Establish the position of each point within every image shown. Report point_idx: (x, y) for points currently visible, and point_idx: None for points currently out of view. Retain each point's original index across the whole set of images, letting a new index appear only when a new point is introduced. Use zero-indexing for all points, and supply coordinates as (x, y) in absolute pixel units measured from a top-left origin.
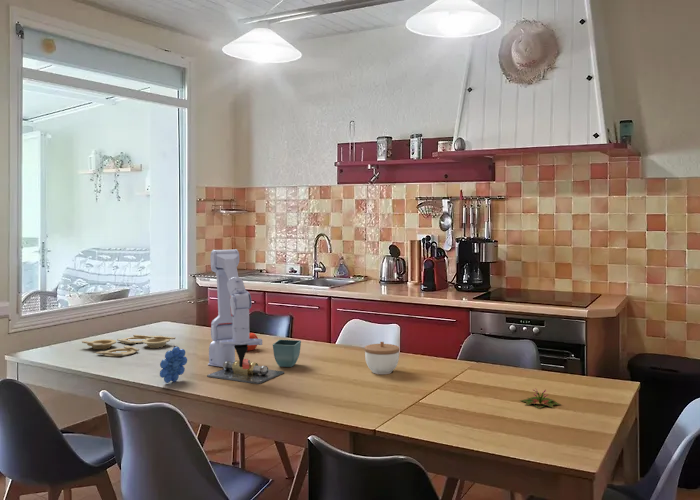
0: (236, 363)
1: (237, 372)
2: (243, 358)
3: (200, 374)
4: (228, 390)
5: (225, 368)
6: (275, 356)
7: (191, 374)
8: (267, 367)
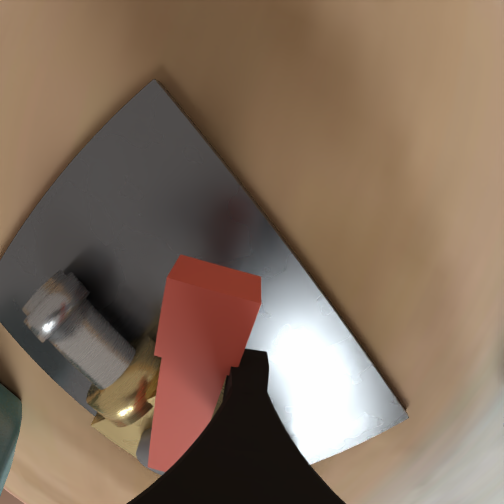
0: None
1: None
2: (219, 411)
3: (403, 444)
4: (436, 45)
5: None
6: (8, 436)
7: (428, 447)
8: (23, 308)
